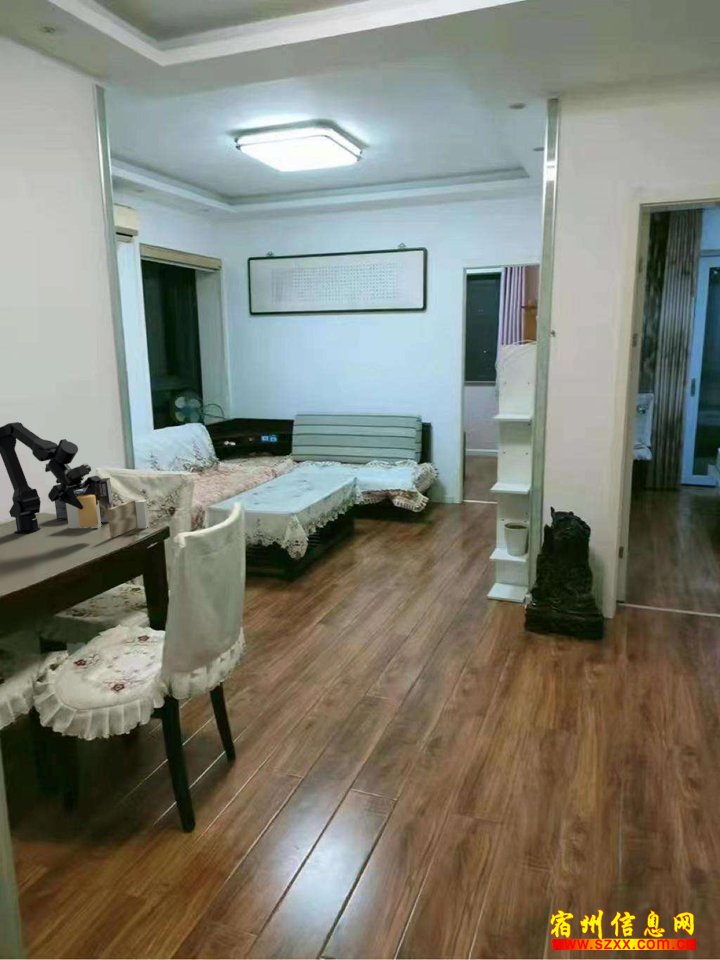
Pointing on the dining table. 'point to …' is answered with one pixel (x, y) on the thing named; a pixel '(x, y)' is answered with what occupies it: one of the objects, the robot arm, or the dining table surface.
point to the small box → (64, 506)
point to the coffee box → (104, 498)
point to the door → (122, 518)
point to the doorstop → (87, 511)
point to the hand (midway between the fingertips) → (89, 506)
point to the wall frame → (74, 518)
